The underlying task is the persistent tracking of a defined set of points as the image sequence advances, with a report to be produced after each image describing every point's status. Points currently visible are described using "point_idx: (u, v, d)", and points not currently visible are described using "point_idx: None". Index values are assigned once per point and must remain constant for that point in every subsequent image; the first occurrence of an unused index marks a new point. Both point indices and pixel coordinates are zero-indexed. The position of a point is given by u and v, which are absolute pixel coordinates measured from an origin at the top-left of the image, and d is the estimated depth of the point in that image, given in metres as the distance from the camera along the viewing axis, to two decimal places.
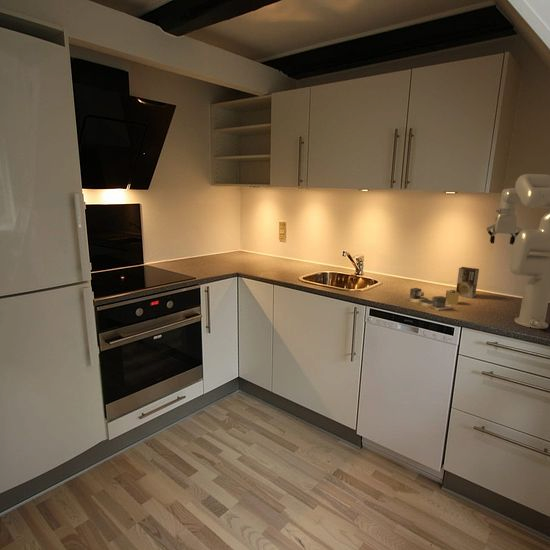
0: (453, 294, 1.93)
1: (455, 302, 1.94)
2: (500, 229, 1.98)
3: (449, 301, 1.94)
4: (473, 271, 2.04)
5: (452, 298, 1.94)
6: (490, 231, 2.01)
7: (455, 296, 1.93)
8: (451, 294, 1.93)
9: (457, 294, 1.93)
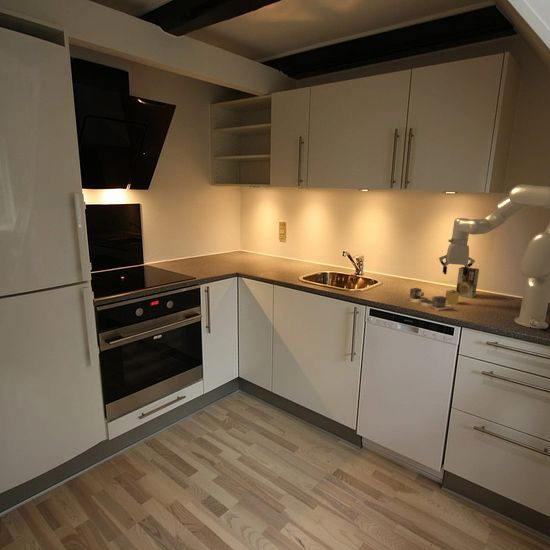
0: (453, 294, 1.93)
1: (455, 302, 1.94)
2: (452, 260, 1.89)
3: (449, 301, 1.94)
4: (473, 271, 2.04)
5: (452, 298, 1.94)
6: (442, 261, 1.92)
7: (455, 296, 1.93)
8: (451, 294, 1.93)
9: (457, 294, 1.93)
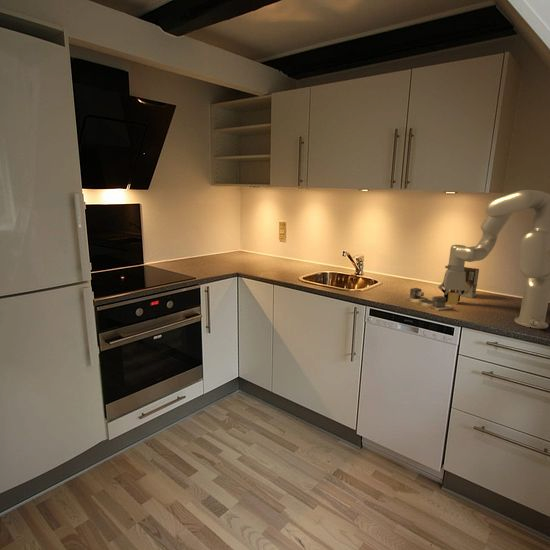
0: (453, 294, 1.93)
1: (455, 302, 1.94)
2: (449, 286, 1.92)
3: (449, 301, 1.94)
4: (473, 271, 2.04)
5: (452, 298, 1.94)
6: (443, 289, 1.95)
7: (455, 296, 1.93)
8: (451, 294, 1.93)
9: (457, 294, 1.93)
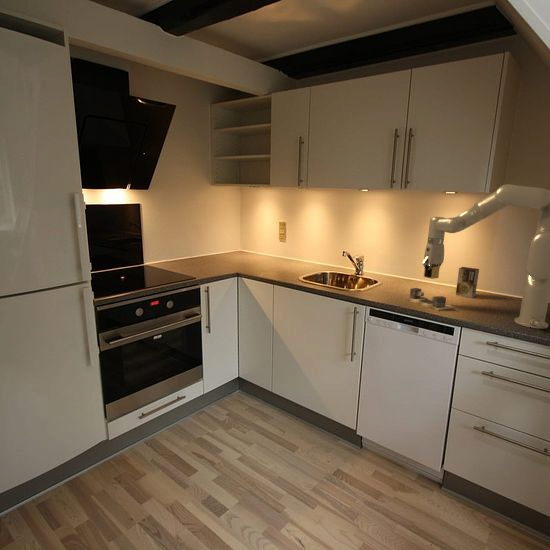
0: (436, 268, 1.87)
1: (437, 276, 1.88)
2: (434, 260, 1.84)
3: (433, 275, 1.87)
4: (473, 271, 2.04)
5: (435, 272, 1.87)
6: (427, 265, 1.86)
7: (437, 270, 1.88)
8: (434, 268, 1.86)
9: (438, 267, 1.88)
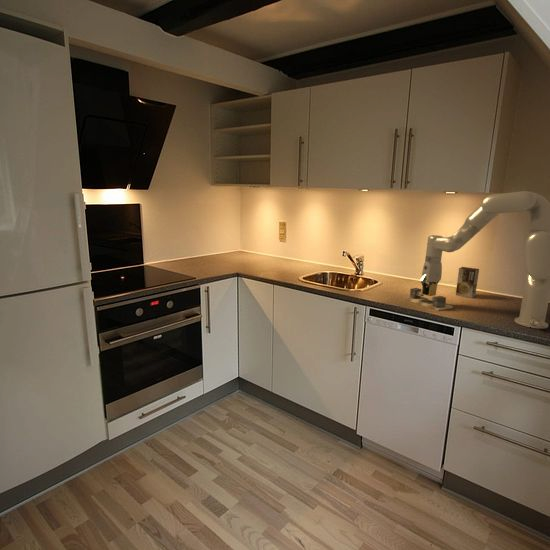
0: (433, 286, 1.89)
1: (434, 293, 1.91)
2: (431, 278, 1.86)
3: (430, 293, 1.89)
4: (473, 271, 2.04)
5: (432, 290, 1.89)
6: (425, 282, 1.88)
7: (434, 287, 1.90)
8: (432, 286, 1.88)
9: (436, 285, 1.90)
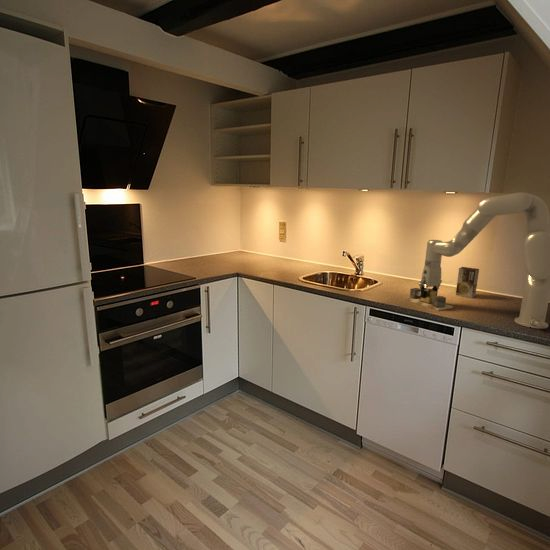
0: (433, 293, 1.90)
1: None
2: (431, 282, 1.87)
3: (430, 300, 1.90)
4: (473, 271, 2.04)
5: None
6: (423, 286, 1.87)
7: (434, 294, 1.90)
8: (431, 293, 1.89)
9: (435, 292, 1.90)
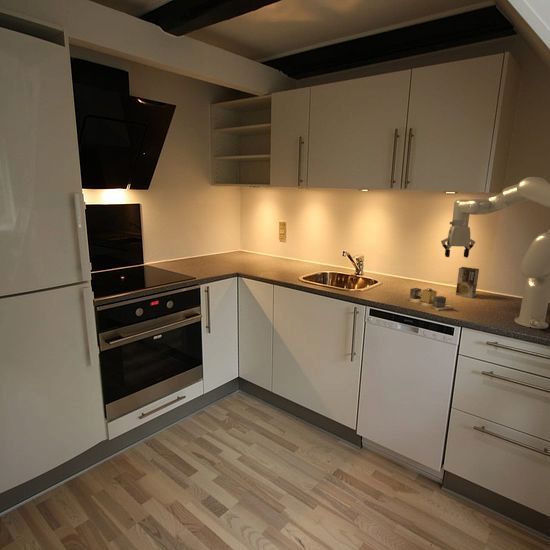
0: (433, 293, 1.90)
1: None
2: (455, 242, 1.87)
3: (430, 300, 1.90)
4: (473, 271, 2.04)
5: None
6: (445, 244, 1.89)
7: (434, 294, 1.90)
8: (431, 293, 1.89)
9: (435, 292, 1.90)
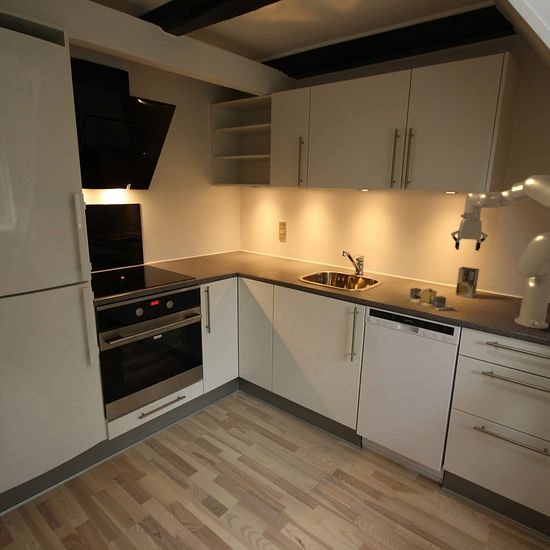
0: (433, 293, 1.90)
1: None
2: (465, 235, 1.88)
3: (430, 300, 1.90)
4: (473, 271, 2.04)
5: None
6: (455, 237, 1.91)
7: (434, 294, 1.90)
8: (431, 293, 1.89)
9: (435, 292, 1.90)
